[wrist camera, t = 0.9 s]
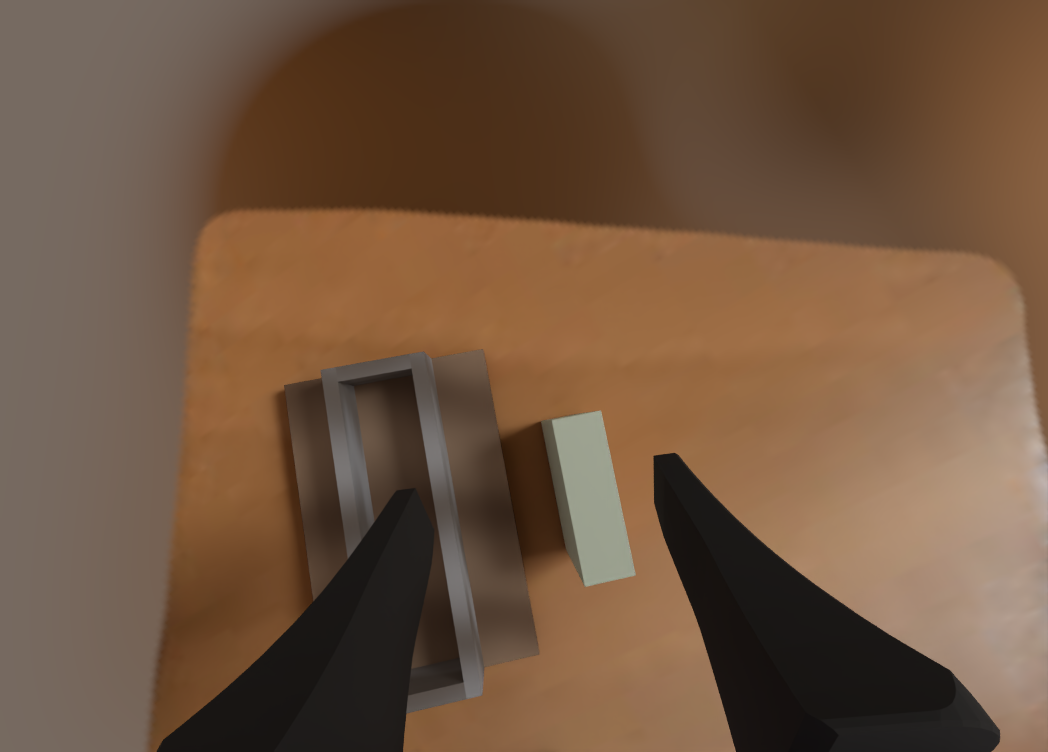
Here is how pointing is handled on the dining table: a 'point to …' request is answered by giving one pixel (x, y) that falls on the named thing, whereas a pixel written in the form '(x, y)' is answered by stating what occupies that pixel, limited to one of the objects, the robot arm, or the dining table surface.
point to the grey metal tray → (445, 491)
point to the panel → (588, 497)
